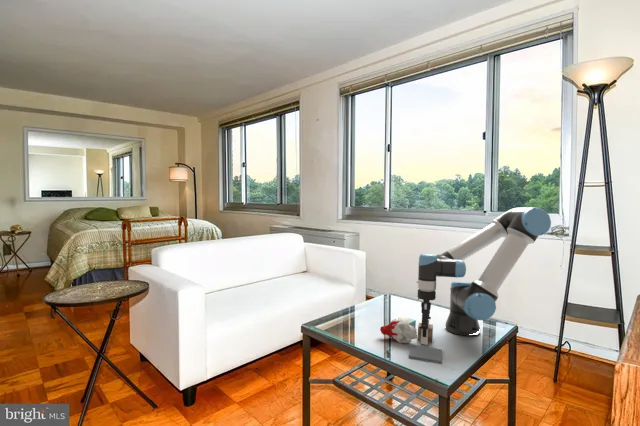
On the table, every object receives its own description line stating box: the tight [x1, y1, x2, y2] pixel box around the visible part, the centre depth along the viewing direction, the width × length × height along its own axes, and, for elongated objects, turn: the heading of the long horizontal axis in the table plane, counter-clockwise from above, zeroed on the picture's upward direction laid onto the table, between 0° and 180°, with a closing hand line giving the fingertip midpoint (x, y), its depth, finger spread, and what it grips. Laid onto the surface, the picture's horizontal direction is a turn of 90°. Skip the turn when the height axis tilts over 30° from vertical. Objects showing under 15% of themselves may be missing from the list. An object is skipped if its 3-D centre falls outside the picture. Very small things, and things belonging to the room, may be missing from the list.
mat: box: [408, 344, 443, 365], centre depth 134 cm, size 12×12×1 cm
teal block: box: [408, 318, 417, 329], centre depth 164 cm, size 4×6×4 cm, turn 138°
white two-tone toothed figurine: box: [379, 318, 418, 344], centre depth 149 cm, size 9×11×15 cm
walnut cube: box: [417, 322, 434, 344], centre depth 151 cm, size 6×6×6 cm
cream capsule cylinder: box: [397, 316, 410, 323], centre depth 159 cm, size 5×5×6 cm
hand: (424, 338), depth 151 cm, fingers open, 12 cm apart
